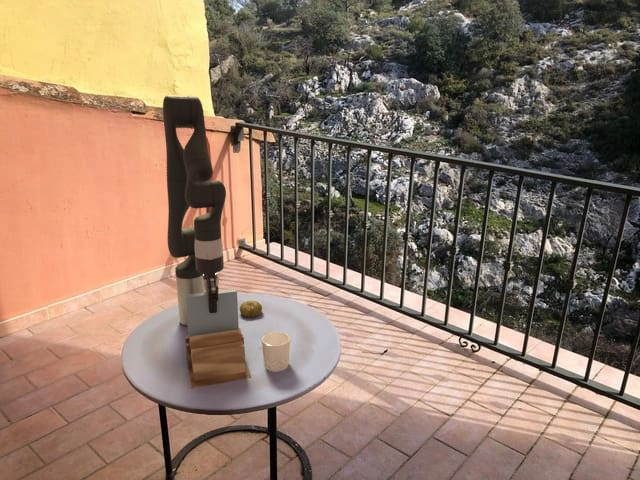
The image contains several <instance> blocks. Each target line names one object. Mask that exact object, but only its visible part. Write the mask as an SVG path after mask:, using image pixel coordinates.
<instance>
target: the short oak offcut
mask: <svg viewBox="0 0 640 480" xmlns="http://www.w3.org/2000/svg"><path fill="white" fill-rule="evenodd" d="M245 347H246V346H245V343H244V344H243V341H241V342H235V343H228V344H222V345H215V346H209V347H203V348H196V349H191V352H192V365H193V376H194V381H196V380H202V379H207V378H213V377H219V376H224V375H230V374H236V373H241V372H246V370H245V361H246V352H245Z"/></svg>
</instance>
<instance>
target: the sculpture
mask: <svg viewBox="0 0 640 480" xmlns="http://www.w3.org/2000/svg"><path fill="white" fill-rule="evenodd" d="M262 311H263V306H262V304H261V303H260V302H258V301H255V300H247V301H244V302H243V303H241V305H240V306H239V312H240V314H241V316H243V317H246V318H247V317H248V318H252V317H253V318H254V317H256V316H257V317H258V316H259V315H260V314H261V313H262Z"/></svg>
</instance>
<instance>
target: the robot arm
mask: <svg viewBox="0 0 640 480" xmlns="http://www.w3.org/2000/svg"><path fill="white" fill-rule="evenodd" d="M162 114H163V115H162V117H163V125H164V127H163V128H164V136H165V137H164V138H165V145H166V189H167V203H168V205H167V206H168V215H167V219H168V221H167V222H168V223H167V248H168V252H169V254H170V256H171V257H172V258H175V259H179V258H180V259H181V258H184V257H185V258H186V257H187V258H186V259H185V260H183V261H182V262H180V263H179V264H177V266H176V267H175V270H174V272H175V283H176V292H177V293H176V294H177V303H178V304H177V305H178V316H179V323H180V324H181V325H183V326H187V327H188V318H187V306H186V295H187V294H195V293H204V292H206V294H208V303H209V313H216V312H217V301H218V291H219V284H220V283H219V282H220V280H219V279H220V278H219V276H218V272H221V271H222V270H224V267H225V265H224V263H225V262H224V245H223V240H222V227H221V225H222V224H221V222H222V216H223V209H224V205H225V203H226V198H227V190H226V187H225V185H224V183H223V182H221V181H220V180H218V179H217V180H216V179H214V180H211V178H212V177H213V175H214V170H213V169H214V168H213V165H212V161H211V158H210V157H211V156H210V154H209V149H208V143H207V140H208V139H207V131H206V121H205V113H204V107H203V104H202V101H201V100H200V98H199V97H198V96H194V95H193V96H192V95H173V94H172V95H165V96H164V98H163V101H162ZM177 129H193V132H192V134H191V136H190V137H189V139H188V141H187V143H186V144H185V146H184V147H183V145H182V143H181V142H180V139H179V137H178V134H177V133H178V132H177ZM190 208H191V209H205V208H206V209H207V208H210V210H209V211H208V212H207V213H204V214H200V215H198V216H197V217H195V218H194V220H193V226H189V227H184V228H183V222H184V219H185V216H186V214H187V212H188V210H189V209H190Z"/></svg>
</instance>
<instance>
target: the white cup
mask: <svg viewBox="0 0 640 480" xmlns="http://www.w3.org/2000/svg"><path fill="white" fill-rule="evenodd" d="M290 342H291V338H290V335H288V334H287V333H286V332H285V333H284V332H282V331H281V332H280V331H274V332H272V331H271V332H269V333H266V334H264V335H263V336H262V337H261V347H262V355H263V357H262V358H263V364H264V365H263V366H264V368H265V369H266V370H268V372H269V371H270V372H276V373H277V372H282V371H284V370H286V369H287V368H288V367H289V363H290V362H289V361H290V345H291V344H290Z"/></svg>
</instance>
